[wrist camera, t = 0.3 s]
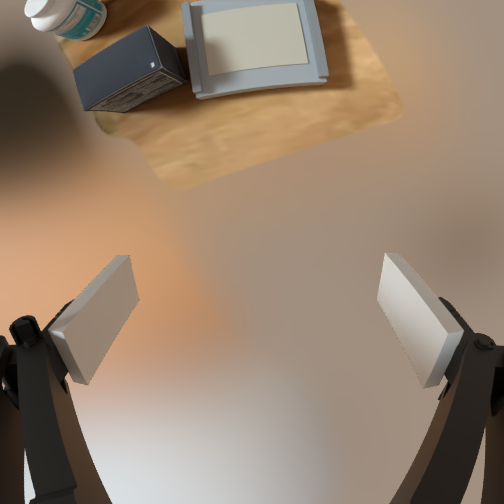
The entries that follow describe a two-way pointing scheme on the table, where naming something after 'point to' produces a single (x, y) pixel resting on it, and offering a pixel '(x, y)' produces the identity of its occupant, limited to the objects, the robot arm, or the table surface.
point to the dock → (252, 45)
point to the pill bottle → (67, 17)
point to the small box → (129, 73)
